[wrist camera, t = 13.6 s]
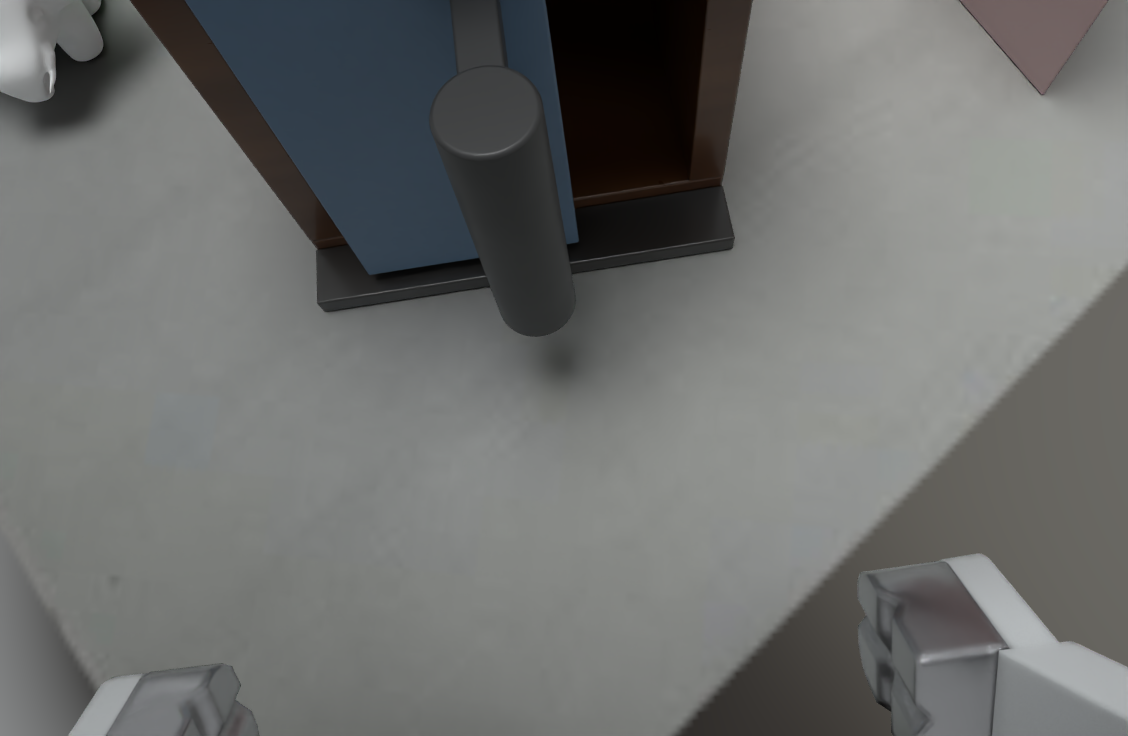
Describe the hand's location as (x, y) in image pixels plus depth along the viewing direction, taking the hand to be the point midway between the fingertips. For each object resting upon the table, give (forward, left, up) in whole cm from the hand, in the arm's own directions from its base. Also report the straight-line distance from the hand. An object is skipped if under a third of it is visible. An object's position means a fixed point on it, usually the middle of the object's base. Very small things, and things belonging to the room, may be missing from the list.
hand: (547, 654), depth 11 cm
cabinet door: (-2, +10, -9) cm, 13 cm away
